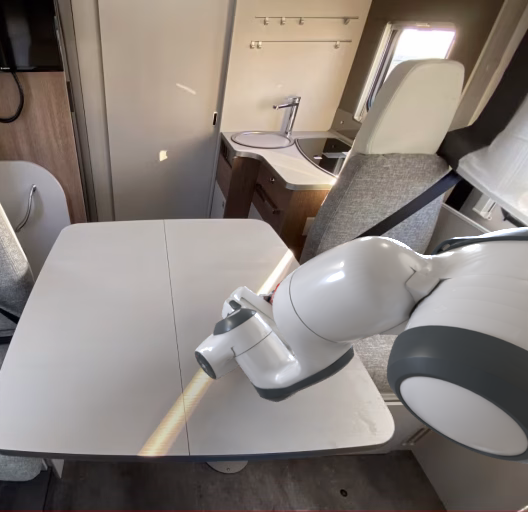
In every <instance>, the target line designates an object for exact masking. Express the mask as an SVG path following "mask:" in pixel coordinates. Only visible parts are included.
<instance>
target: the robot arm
mask: <svg viewBox="0 0 528 512" xmlns="http://www.w3.org/2000/svg"><path fill="white" fill-rule="evenodd" d="M448 245H449V246H448ZM447 246H448V247H447ZM446 247H447V248H446ZM444 248H445V249H444ZM281 281H282V282H281ZM281 281H280V282H281V284H280V285H279V286H278V288H277V290H276V292H275V294H274V298H273V305H271V304H269V303H268V302H267V301H266V300H268V301H270V299H271V297H272V295H273V293H272V291H270V292H269V293H260V294H257V293H256V292H254V291H252V290H251V289H250V288H248V287H247V286H246V285H245V286H242V285H241V286H238V287H237V288H236V289H235V290H233V292H232V293H230V295H229V297H228V298H226V299H225V300H224V303H223V305H222V311H221V318H222V319H221V320H219V321H217V322H216V323H215V324H214V328H213V332H212V333H211V334H210V335H209V336H207V337H206V338H205V339H204V340H203V341H202V342H201V343H200V344H199V345H198V346H197V347H196V349H195V350H194V357H195V359H196V362H197V363H198V365H199V366H200V368H201V370H202V371H203V373H205V374H206V375H207V376H208V377H209V378H211V379H213V380H215V381H216V380H219V379H221V378H223V377H224V376H226V375H227V374H229V373H231V372H233V371H234V370H235V369H236V368H238V367H240V368H241V370H242V372H244V374H245V375H246V376H247V378H248V379H249V380H250V383H251V385H252V386H253V388H254V389H255V391H256V393H257V395H258V396H259V397H260V398H261V399H264V400H266V401H269V402H273V403H274V402H275V403H279V402H283V401H285V400H288V399H289V398H291V397H293V396H294V395H296V394H297V393H299V392H301V391H303V390H306V389H308V388H310V387H312V386H314V385H317V384H319V383H321V382H323V381H325V380H327V379H330V378H332V377H334V375H336V374H338V373H339V372H341V370H343V369H344V368H345V367H346V366H347V365H348V364H349V363H350V362H351V361H352V359H353V358H354V356H355V351H354V350H355V349H354V345H353V343H355V342H358V341H361V340H366V339H368V338H372V337H374V336H377V335H379V336H396V337H395V338H394V341H393V343H392V345H391V348H390V351H389V355H388V360H387V367H386V380H387V384H388V385H389V388H390V389H391V391H392V392H393V394H394V395H395V396H396V398H397V399H398V400H399V401H400V403H401V404H402V405H403V406H404V408H405V409H406V411H408V412H409V413H410V415H412V416H413V417H414V418H415V419H417V420H418V421H419V422H420V423H421V424H422V425H424V426H425V427H426V428H428V429H430V430H431V431H433V432H434V433H435V434H437V435H438V436H440V437H443V438H444V439H445V440H448V441H450V442H451V443H453V444H455V445H456V446H457V445H458V446H460V447H462V448H463V449H465V450H468V451H470V452H474V453H476V454H478V455H482V456H485V457H488V458H491V459H492V458H493V459H496V460H501V461H506V462H513V463H519V464H524V465H528V226H524V227H514V228H508V229H507V228H505V229H501V230H496V231H492V232H488V233H484V234H481V235H478V236H457V237H456V236H455V237H451V238H448V239H445V240H442V241H441V242H440V243H439V244H437V246H435V247H434V249H433V250H432V252H431V253H430V254H429V255H425V254H421V253H418V252H417V251H415V250H414V249H413V248H411V247H410V246H408V245H407V244H405V243H403V242H401V241H399V240H397V239H393V238H390V237H388V236H381V235H380V236H379V235H368V236H362V237H357V238H355V239H352V240H349V241H347V242H344V243H341V244H338V245H336V246H334V247H331V248H329V249H327V250H325V251H323V252H320V253H319V254H317V255H316V256H314V257H312V258H310V259H309V260H307V261H306V262H304V263H302V264H301V265H299V266H298V267H297V268H296V269H294V270H293V271H291V272H290V273H289V274H288V275H287V276H286V277H285V278H284V279H283V280H281Z"/></svg>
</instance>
